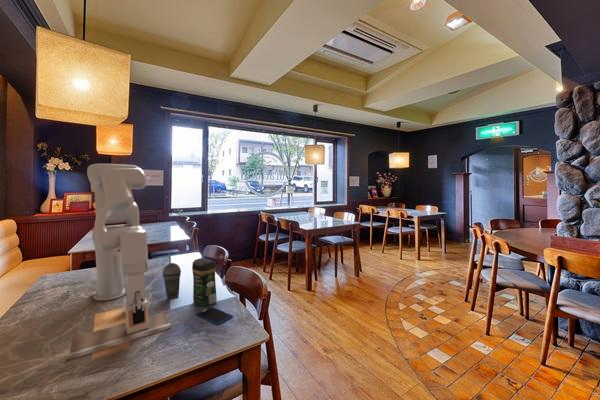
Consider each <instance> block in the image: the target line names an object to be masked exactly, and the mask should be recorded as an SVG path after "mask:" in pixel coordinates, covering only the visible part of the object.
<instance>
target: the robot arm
mask: <svg viewBox="0 0 600 400" xmlns="http://www.w3.org/2000/svg"><path fill="white" fill-rule="evenodd" d="M86 172H87V174H86V175H87V178H88V181H89V183H90V185H91V186H92V189H93V191H94V204H95V205H94V206H95V220H94V230H93V231H92V235H91V237H92V239H91V240H92V243H93V245H94V246H93V247H94V252H95V263H96V264H95V265H96V280H97V284H95V285H93V287H92V288H91V291H92V292H95V294H94V295H93V301H94V300H95V301H97V302H98V301H99V302H100V301H101V302H103V301H111V300H115V299H118V298H122V297H123V296H125V298H126V302H127V305H128V306H130V305H132V304H133V312H132V314H133V325H135V324H139V323H142V322H144V321H145V315H144V307H143V302H144V301H145V298H146V282H145V281H146V279H145V277H146V276H145V272H148V271H149V256H148V236H147V235H148V234H147V233H148V232H147V231H146V229H145V228H144V227H143V226H140V210H139V206H138V203H136V202H135V200H134V196H133V192H132V190H141V189H145V188H146V185H147V176H146V174H145V171H144V170H143V169H142V168H141V167H139V166H137V165H134V164H119V163H93V164H90V165H88V166H87V171H86ZM116 223H117V224H116ZM118 223H124V224H118ZM106 224H111V225H106ZM112 224H113V225H112ZM124 283H125V284H124ZM134 301H136V302H134ZM135 305H137V306H136V307H135Z"/></svg>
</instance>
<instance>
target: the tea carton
mask: <svg viewBox="0 0 600 400" xmlns="http://www.w3.org/2000/svg"><path fill="white" fill-rule="evenodd" d="M134 302H136V301H134ZM136 306H137V305H135V307H136ZM143 307H144V315H145V321H144V322H142V323H139V324H135V325H133V314H132V312H133V304H132V305H130V306H128V305H127V302H126V303H125V309H126V312H125V323H126V329H127V334H130V333H133V332H136V331H140V330H143V329H147V328H149V327H148V316H149V307H148V300H147V298H146V297H145V301H144V302H143Z"/></svg>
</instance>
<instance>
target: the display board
mask: <svg viewBox="0 0 600 400" xmlns="http://www.w3.org/2000/svg"><path fill="white" fill-rule="evenodd" d="M148 327H149V328H147V329H143V330H140V331H136V332H133V333H130V334H127V329H126V322H123V323H120V324H116V325H112V326H109V327H106V328H101V329H98V330H95V331H91V332H87V333H83V334H80V335H77V336H73V337H72V341H71V347H70V352H69V354H68V360H71V359H72V360H73V359H75V358H76V359H77V358H78V357H81V356H85V355H88V354H93V353H95V352H98V351H102V350H104V349H107V348H111V347H113V346H117V345H121V344H124V343H128V342H130V341H133V340H136V339H139V338H142V337H146V336H150V335H153V334H156V333H159V332H161V331H165V330H168V329H171V328H172V324H171V322H169V321H168V319H167V316H166V314H165V312H160V313H156V314H153V315H148Z"/></svg>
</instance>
